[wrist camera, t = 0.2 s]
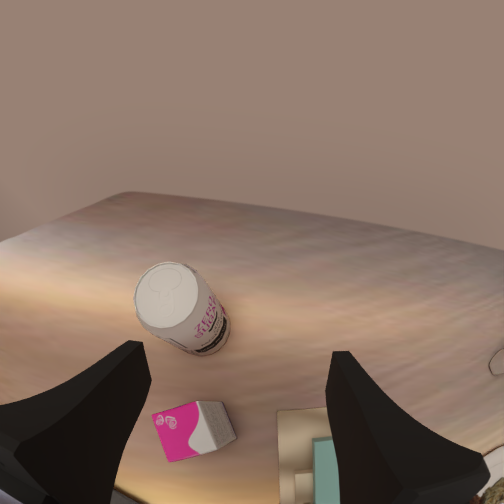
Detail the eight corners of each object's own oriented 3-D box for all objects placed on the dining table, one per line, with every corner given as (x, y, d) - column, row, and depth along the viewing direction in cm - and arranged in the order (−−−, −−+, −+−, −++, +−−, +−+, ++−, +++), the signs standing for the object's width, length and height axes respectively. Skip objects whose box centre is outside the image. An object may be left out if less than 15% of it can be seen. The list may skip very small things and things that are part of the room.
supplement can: (173, 305, 45) (128, 263, 32) (227, 297, 45) (201, 250, 32) (177, 359, 41) (128, 337, 28) (234, 352, 41) (208, 328, 28)
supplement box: (222, 399, 38) (199, 399, 28) (238, 438, 36) (220, 452, 26) (183, 412, 38) (149, 414, 28) (198, 450, 35) (168, 465, 25)
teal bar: (341, 506, 27) (346, 515, 24) (313, 509, 28) (315, 519, 25) (340, 434, 32) (345, 438, 29) (311, 438, 32) (314, 442, 29)
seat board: (368, 516, 28) (374, 525, 24) (280, 526, 29) (279, 537, 25) (366, 401, 36) (374, 401, 33) (277, 411, 37) (276, 412, 34)
